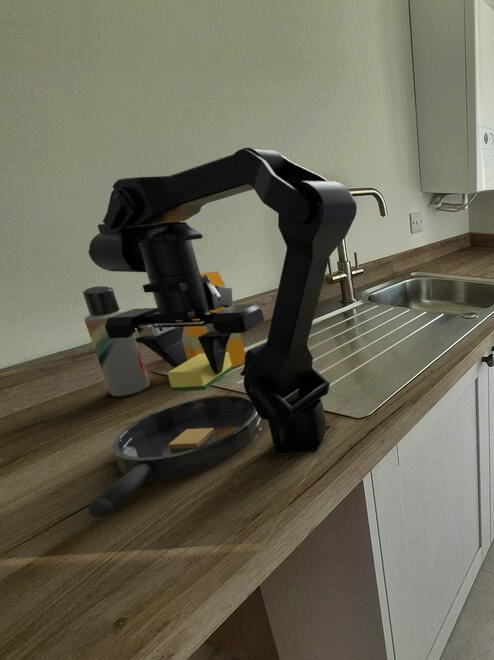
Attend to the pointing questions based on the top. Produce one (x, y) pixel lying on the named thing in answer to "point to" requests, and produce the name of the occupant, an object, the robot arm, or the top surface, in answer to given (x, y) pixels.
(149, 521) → the top surface
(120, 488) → the pan handle
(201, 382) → the sponge
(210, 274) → the orange juice
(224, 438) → the pan
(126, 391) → the lotion bottle
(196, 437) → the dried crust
